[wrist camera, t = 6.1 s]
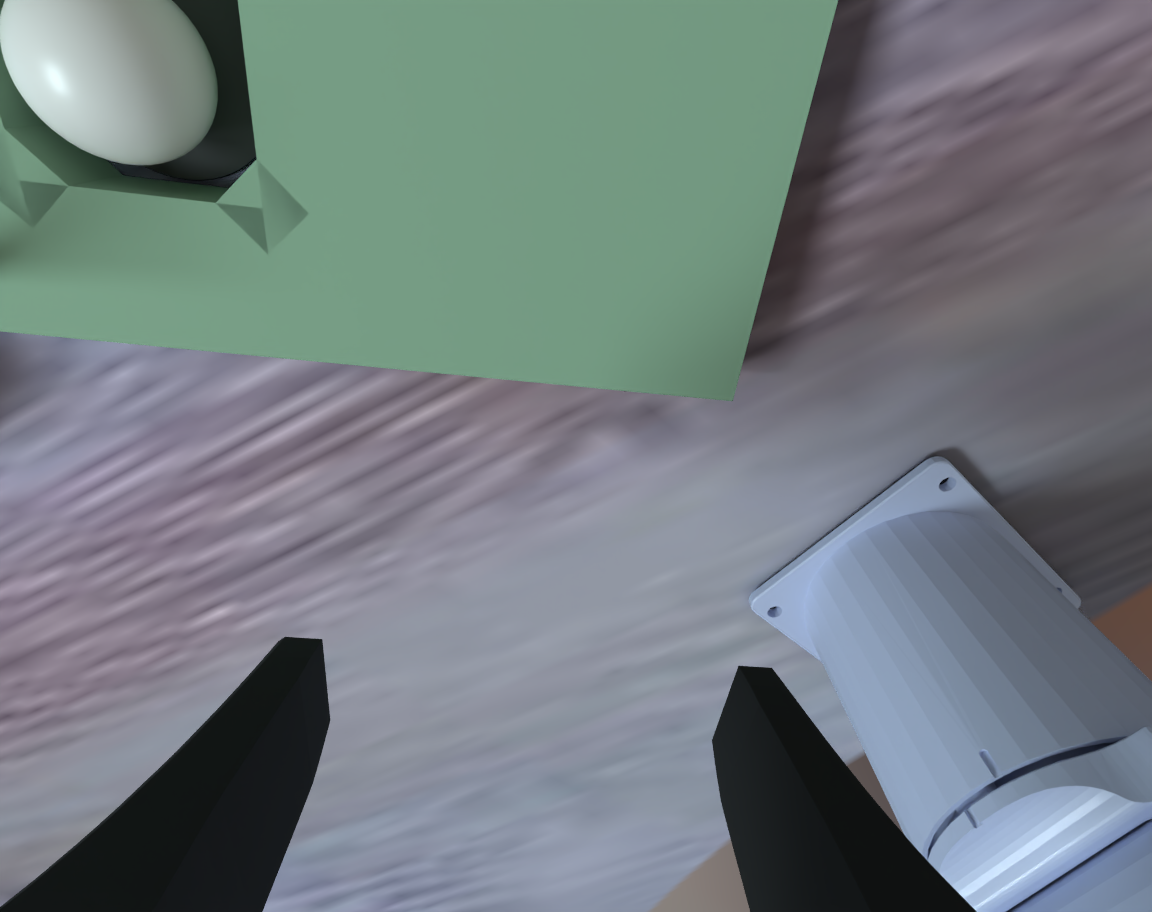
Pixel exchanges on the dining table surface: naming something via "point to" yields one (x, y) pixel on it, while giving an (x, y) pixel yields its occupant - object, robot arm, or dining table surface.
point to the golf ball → (112, 75)
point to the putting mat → (440, 191)
